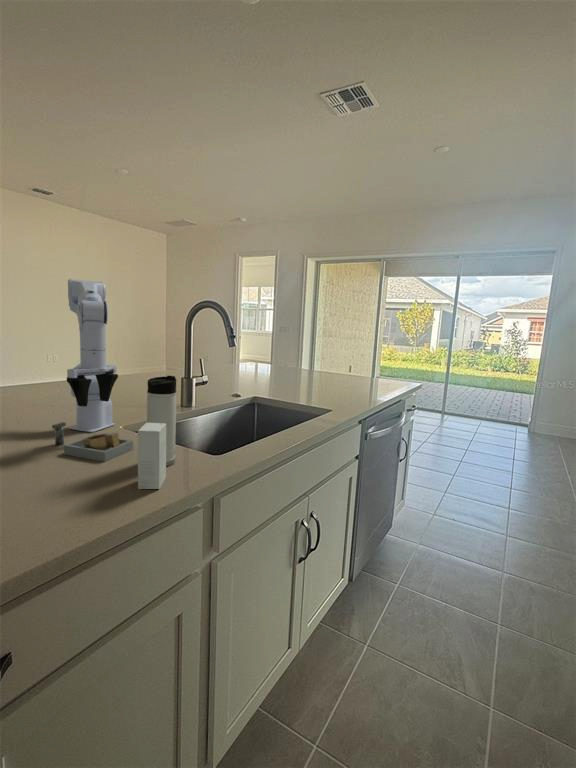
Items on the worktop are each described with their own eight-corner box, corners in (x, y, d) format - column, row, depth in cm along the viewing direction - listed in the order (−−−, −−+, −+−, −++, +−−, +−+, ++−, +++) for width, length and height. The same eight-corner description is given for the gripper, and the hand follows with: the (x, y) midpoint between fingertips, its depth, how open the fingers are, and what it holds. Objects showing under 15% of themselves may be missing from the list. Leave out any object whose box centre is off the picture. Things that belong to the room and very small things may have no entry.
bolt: (61, 442, 100) (61, 422, 100) (67, 443, 100) (67, 422, 99) (51, 445, 97) (50, 424, 96) (57, 446, 97) (56, 425, 96)
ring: (100, 443, 99) (98, 431, 99) (126, 442, 96) (124, 430, 96) (78, 450, 93) (76, 438, 93) (106, 450, 90) (104, 437, 90)
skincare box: (145, 477, 82) (145, 422, 80) (166, 478, 83) (167, 422, 81) (136, 490, 76) (137, 430, 74) (159, 490, 77) (160, 431, 75)
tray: (95, 442, 102) (95, 434, 101) (133, 448, 99) (133, 440, 99) (64, 454, 92) (63, 445, 92) (105, 461, 89) (104, 452, 89)
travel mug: (181, 460, 93) (183, 377, 90) (161, 469, 87) (163, 380, 84) (161, 455, 96) (162, 374, 92) (140, 463, 90) (141, 376, 86)
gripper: (84, 352, 90) (85, 410, 92) (126, 349, 104) (126, 400, 106) (59, 350, 92) (60, 407, 94) (103, 348, 106) (104, 397, 107)
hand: (93, 403), depth 100 cm, fingers open, 7 cm apart
